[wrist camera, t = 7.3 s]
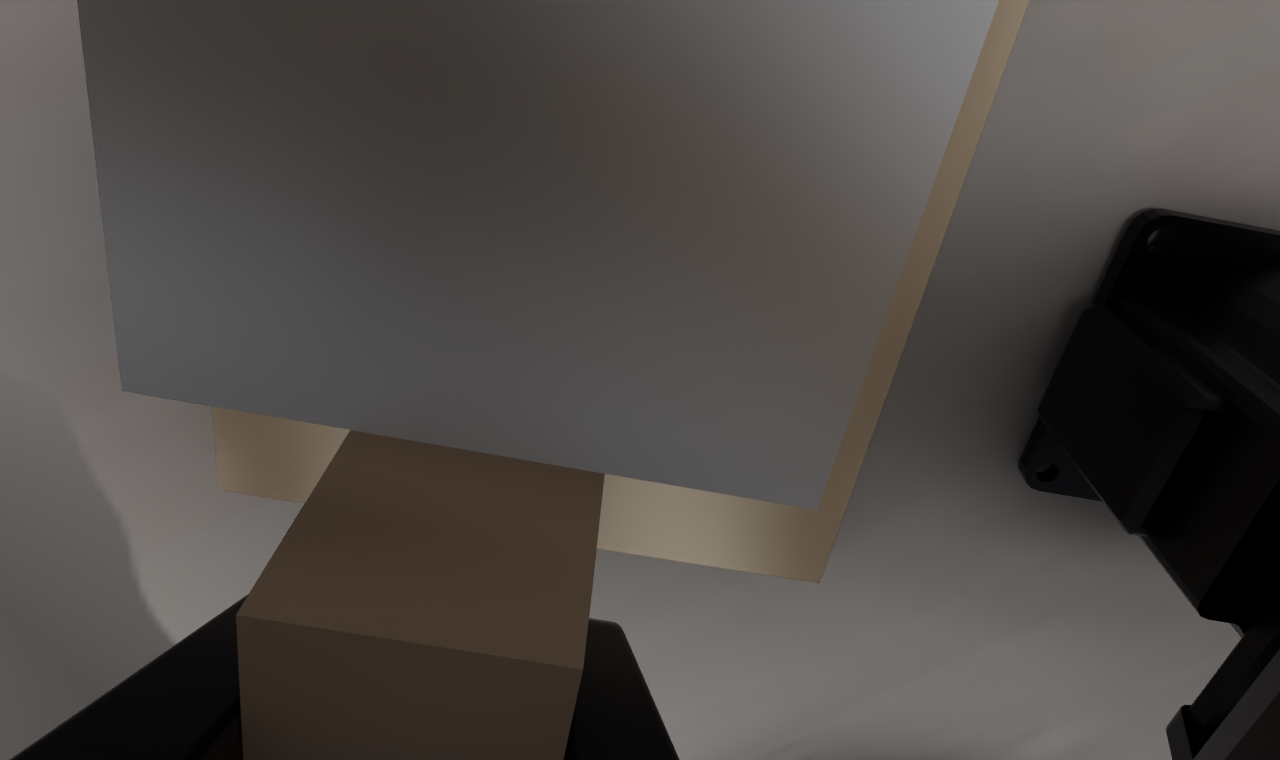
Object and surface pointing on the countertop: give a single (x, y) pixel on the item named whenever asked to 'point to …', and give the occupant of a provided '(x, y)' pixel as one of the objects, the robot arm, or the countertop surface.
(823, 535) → the cutting board
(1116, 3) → the countertop surface
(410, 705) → the brown and grey blocks
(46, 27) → the countertop surface
